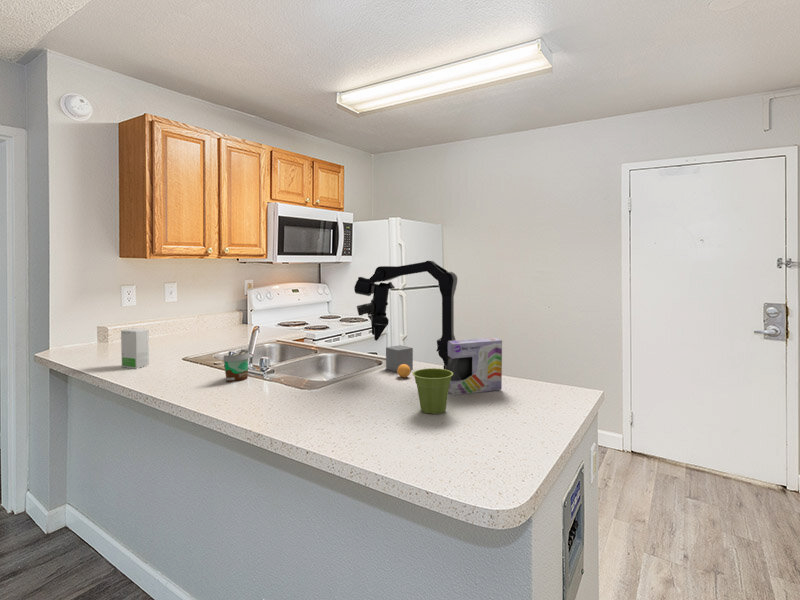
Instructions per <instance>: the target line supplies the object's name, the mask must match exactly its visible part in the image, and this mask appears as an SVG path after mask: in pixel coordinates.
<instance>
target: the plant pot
mask: <svg viewBox="0 0 800 600" xmlns="http://www.w3.org/2000/svg"><path fill="white" fill-rule="evenodd" d="M412 376H414V380H415V384H416V388H417V394H418V400H419V405H420V411H421V412H423V413H425V414H432V415H438V414H443V413H445V411H446V409H447V403H448V398H449V397H448V396H449V392H448V391H449V384H450V382H451V376H453V372H451V371H449V370H445V369H444V368H437V367H435V368H433V367H432V368H422V369H421V368H420V369H417V370H415V371H413V372H412Z"/></svg>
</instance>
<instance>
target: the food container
mask: <svg viewBox="0 0 800 600" xmlns="http://www.w3.org/2000/svg"><path fill="white" fill-rule="evenodd" d="M250 358H251V354H250V351H249V350H247V349H240V351H239V352H237V353H235V352H234V353H232V354H230V355H223V357H222V359H223V360H222V361H223V363H224V371H225V380H226V383H238V382H244V381H245V380H248V377H249V375H248V372H249V359H250Z"/></svg>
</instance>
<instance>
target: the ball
mask: <svg viewBox="0 0 800 600" xmlns="http://www.w3.org/2000/svg"><path fill="white" fill-rule="evenodd" d="M396 373H397V374H398V376H399V377H401V378H407V377H408V376H410V375H411V370H410V367H409V366H408V365H406V364H402V365H400V366H399V367H398V369H397V372H396Z"/></svg>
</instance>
